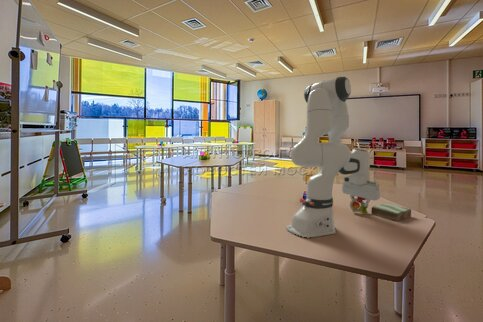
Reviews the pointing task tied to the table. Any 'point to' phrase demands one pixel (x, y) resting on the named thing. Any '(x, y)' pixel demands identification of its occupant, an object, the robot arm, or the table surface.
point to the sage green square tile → (391, 212)
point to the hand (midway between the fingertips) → (359, 204)
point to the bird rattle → (358, 205)
